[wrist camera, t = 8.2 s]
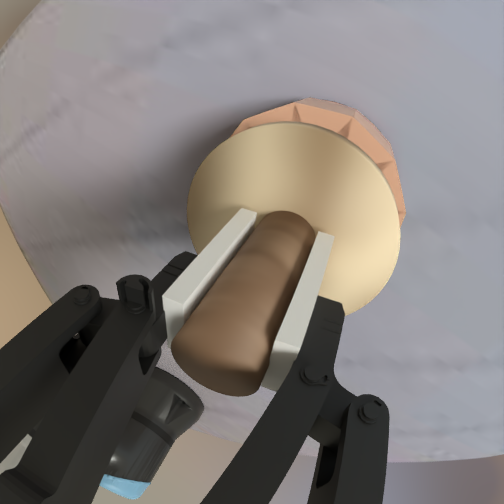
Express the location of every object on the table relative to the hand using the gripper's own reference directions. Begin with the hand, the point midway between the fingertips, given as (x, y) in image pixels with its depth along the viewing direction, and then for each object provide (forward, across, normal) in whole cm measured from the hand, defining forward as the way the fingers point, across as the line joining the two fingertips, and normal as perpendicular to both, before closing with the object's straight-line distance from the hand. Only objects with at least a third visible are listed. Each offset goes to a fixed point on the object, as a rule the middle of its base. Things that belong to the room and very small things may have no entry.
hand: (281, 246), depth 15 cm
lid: (+2, 0, 0) cm, 2 cm away
